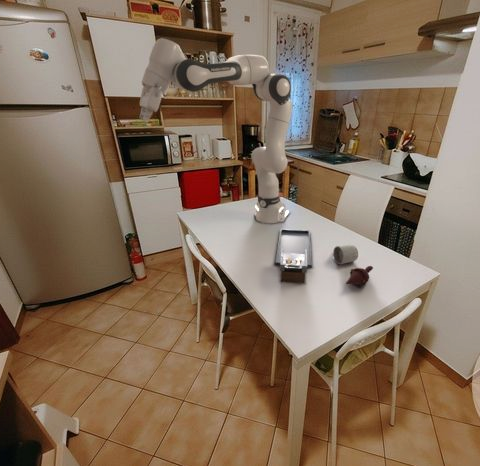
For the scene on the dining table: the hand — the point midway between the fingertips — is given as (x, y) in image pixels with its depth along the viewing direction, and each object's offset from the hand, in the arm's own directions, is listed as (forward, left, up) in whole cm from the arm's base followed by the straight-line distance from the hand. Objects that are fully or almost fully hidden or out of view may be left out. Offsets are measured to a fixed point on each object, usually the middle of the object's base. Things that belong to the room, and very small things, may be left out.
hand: (143, 120), depth 101 cm
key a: (-7, +62, -49) cm, 79 cm away
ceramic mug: (-29, +77, -54) cm, 98 cm away
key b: (-9, +65, -49) cm, 81 cm away
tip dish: (-8, +63, -49) cm, 81 cm away
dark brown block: (-8, +63, -54) cm, 84 cm away
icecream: (-16, +87, -54) cm, 104 cm away
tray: (-27, +54, -54) cm, 81 cm away
